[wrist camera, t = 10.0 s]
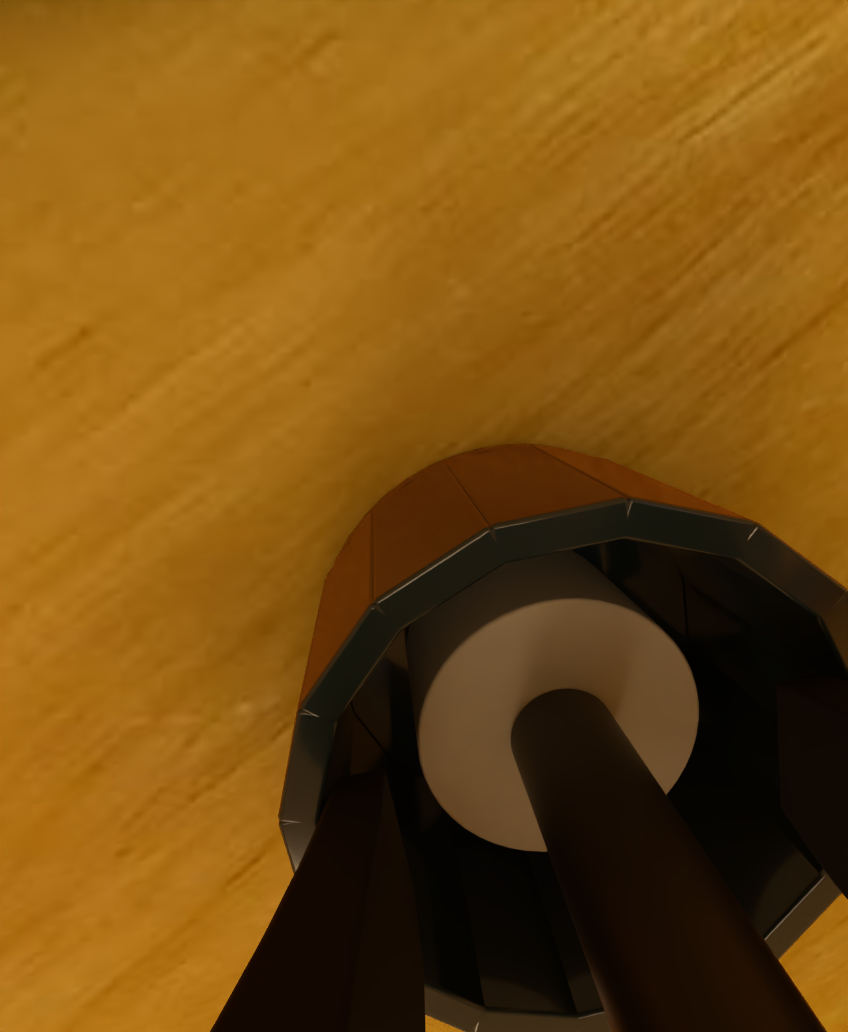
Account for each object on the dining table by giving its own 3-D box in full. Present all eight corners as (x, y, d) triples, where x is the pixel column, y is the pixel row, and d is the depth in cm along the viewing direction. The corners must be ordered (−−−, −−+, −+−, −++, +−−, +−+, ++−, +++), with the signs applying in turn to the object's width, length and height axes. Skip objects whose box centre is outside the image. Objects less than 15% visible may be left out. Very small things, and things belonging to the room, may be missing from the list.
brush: (665, 611, 12) (1180, 1053, 4) (536, 773, 13) (785, 1395, 5) (491, 495, 11) (754, 793, 3) (363, 676, 12) (347, 1255, 4)
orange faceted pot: (771, 579, 13) (1017, 713, 8) (547, 851, 14) (640, 1109, 9) (466, 360, 11) (539, 359, 6) (244, 691, 12) (162, 904, 8)
